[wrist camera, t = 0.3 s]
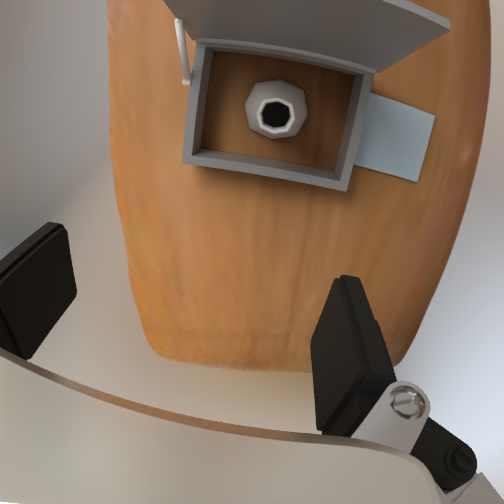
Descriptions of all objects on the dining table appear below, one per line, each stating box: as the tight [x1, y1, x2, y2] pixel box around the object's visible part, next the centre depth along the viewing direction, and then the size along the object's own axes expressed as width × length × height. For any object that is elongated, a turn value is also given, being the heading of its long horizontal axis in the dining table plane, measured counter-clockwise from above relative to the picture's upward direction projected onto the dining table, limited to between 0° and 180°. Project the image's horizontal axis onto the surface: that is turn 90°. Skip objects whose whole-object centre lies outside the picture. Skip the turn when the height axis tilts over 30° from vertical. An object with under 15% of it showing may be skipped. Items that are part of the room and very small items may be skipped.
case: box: [182, 38, 377, 192], centre depth 29 cm, size 15×18×5 cm
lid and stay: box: [163, 0, 451, 85], centre depth 20 cm, size 9×19×15 cm, turn 81°
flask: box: [244, 79, 308, 139], centre depth 27 cm, size 7×7×10 cm
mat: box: [354, 93, 435, 182], centre depth 32 cm, size 9×9×1 cm
